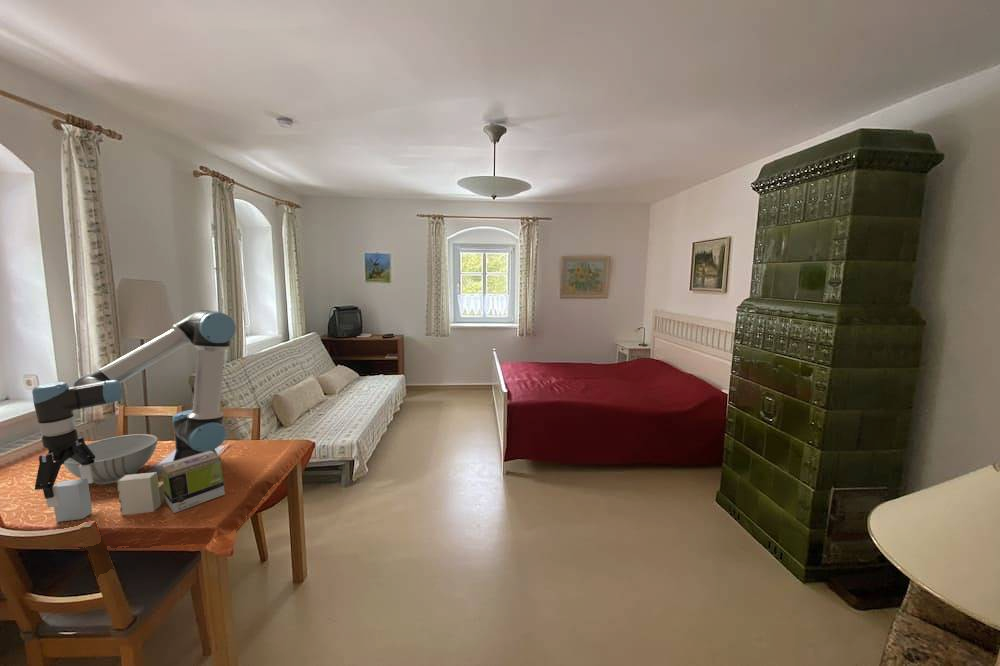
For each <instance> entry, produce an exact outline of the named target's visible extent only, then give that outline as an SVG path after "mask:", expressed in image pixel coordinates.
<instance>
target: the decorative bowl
mask: <svg viewBox="0 0 1000 666" xmlns="http://www.w3.org/2000/svg"><path fill="white" fill-rule="evenodd" d="M158 441H159V439H158V436H156V435H153V434H148V433H147V434H145V433H135V434H125V435H119V436H118V435H117V436H114V437H108V438H104V439H100V440H96V441H93V442H89V443H85V444H86V445H87V446H88V448H89V449H90V450H91V452H92V453H93V454H94V455H95V459H92V460H94V463H90V464H91V469H92V476H93V481H94V482H93V483H94V484H95V485H110V484H114V483H117V480H118V479H120V478H121V477H122V476H124V475H132V474H138V471H139V470H140V469H141V468H143V466H145V465H146V464H147V463H148V462H149V461H150V459H151V458H152V456H153V455H154V453H155V450H156V448H157V445H158ZM80 465H82V464H80V463H78V462H77V461H75V460H73V459H72V458H68V459H67V460H66V461H64V464H63V465H62V466H64V467H65V470H66V469H67V471H68V472H70V473H71V474H72V475H73V476H75V477H76V478H79V479H81V475H80V470H79V466H80Z"/></svg>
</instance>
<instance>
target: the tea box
mask: <svg viewBox="0 0 1000 666" xmlns="http://www.w3.org/2000/svg"><path fill="white" fill-rule="evenodd" d="M217 454H218V453H217ZM217 454H216V453H214V452H213V451H212V450H209V451H206V452H203V453H199V454H196V455H192V456H189V457H185V458H182V459H179V460H175V461H173V460H172V461H169V462H165V463H162V464H160V470H161V476H162V477H161V478H162V482H163V484H164V492H165V498H166V499H165V502H166V504H167V505H168V507H169V508H170V510H171V512H172V513H173V514H176V513H178V512H181V511H184V510H186V509H188V508H192V507H195V506H197V505H200V504H202V503H205V502H208V501H210V500H211V501H212V500H213V499H216V498H219V497H221V496H224V495H226V490H225V482H224V475H223V474H224V472H223V467H222V460H221V456H219V455H217Z"/></svg>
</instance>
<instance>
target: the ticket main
mask: <svg viewBox="0 0 1000 666" xmlns="http://www.w3.org/2000/svg"><path fill="white" fill-rule="evenodd" d="M116 486H117V494H118V497H119V498H118V501H119V505H120V513H121V516H127V515H128V516H129V515H136V514H144V513H145V514H146V513H154V512H156V511H157V510H158V508H160V506H161V505H162V503H163V502H165V501H166V498H165V492H164V484H163V481H159V478H158V472H157V471H154V472H145V473H142V472H141V473H136V474H132V475H124V476H122V477H121V478H120V479H118V480H117V482H116Z"/></svg>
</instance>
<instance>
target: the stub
mask: <svg viewBox="0 0 1000 666" xmlns="http://www.w3.org/2000/svg"><path fill="white" fill-rule="evenodd" d="M55 485H57V490H58V494H59V499H60V504H61V505H60V506H55V507H53V510H54V516H55V521H56V523H58V522H59V523H60V522H68V521H75V520H83V519H85V518H86V517H88V516H89V515H90V514H92V513H93V507H92V501H91V494H90V487H89V484H88V479H81V478H79V479H71V480H61V481H59V482H58V483H56V484H55Z"/></svg>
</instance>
